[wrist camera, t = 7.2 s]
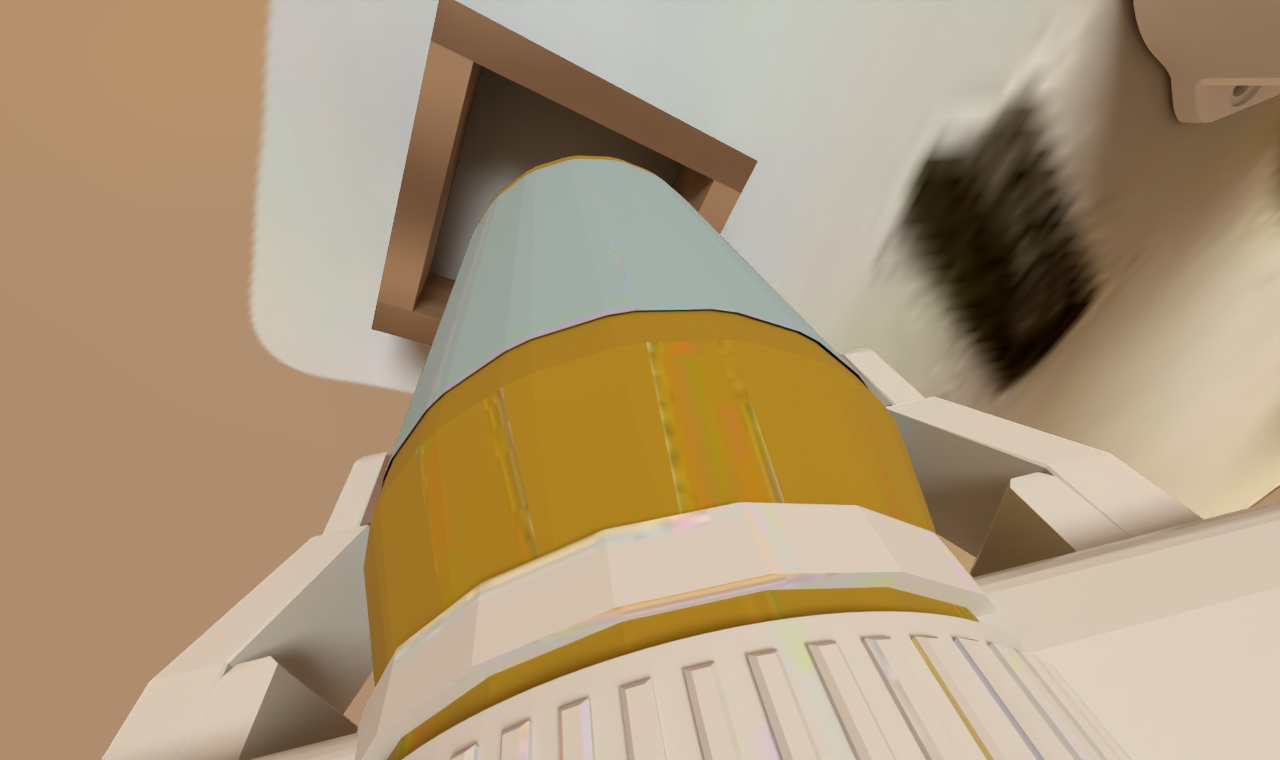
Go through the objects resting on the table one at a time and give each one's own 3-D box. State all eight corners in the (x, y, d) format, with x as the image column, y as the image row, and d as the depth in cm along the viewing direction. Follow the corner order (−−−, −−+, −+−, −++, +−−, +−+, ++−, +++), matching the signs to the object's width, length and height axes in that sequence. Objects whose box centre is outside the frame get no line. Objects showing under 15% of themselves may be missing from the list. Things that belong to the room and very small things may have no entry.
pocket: (457, 5, 17) (440, -8, 13) (721, 145, 21) (757, 161, 18) (394, 287, 22) (371, 329, 18) (620, 355, 26) (633, 399, 22)
